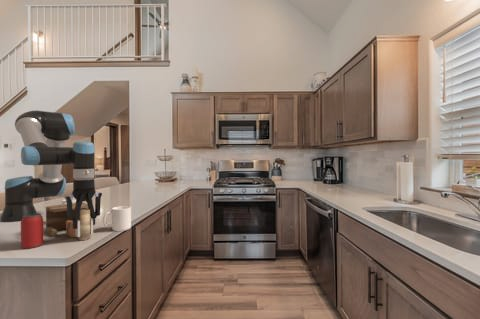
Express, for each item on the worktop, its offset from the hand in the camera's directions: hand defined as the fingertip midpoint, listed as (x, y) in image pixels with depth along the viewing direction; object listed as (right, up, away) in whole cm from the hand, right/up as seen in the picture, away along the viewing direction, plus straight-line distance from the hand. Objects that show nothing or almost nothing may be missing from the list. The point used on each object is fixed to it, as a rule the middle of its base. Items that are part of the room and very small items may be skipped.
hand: (84, 234), depth 102 cm
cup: (+7, -2, +14) cm, 15 cm away
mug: (-24, -2, +26) cm, 35 cm away
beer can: (-15, -2, -8) cm, 17 cm away
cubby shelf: (-15, -2, +12) cm, 19 cm away
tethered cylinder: (-4, -2, +3) cm, 5 cm away
